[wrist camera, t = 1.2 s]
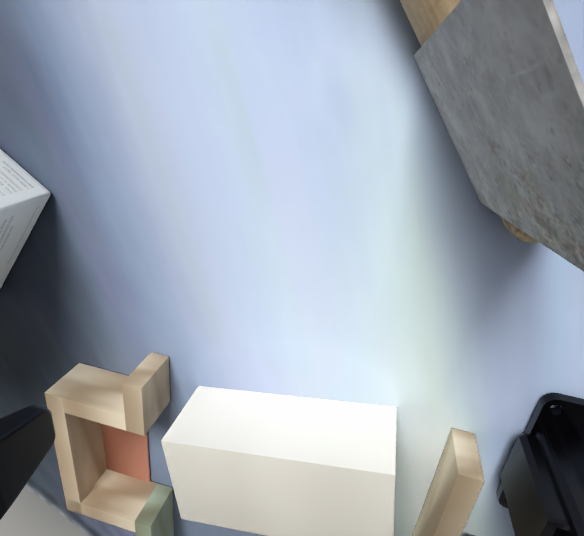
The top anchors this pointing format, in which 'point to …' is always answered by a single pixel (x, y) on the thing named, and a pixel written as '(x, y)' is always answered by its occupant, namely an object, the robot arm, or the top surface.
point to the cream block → (284, 464)
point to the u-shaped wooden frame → (158, 498)
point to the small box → (17, 210)
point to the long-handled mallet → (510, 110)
